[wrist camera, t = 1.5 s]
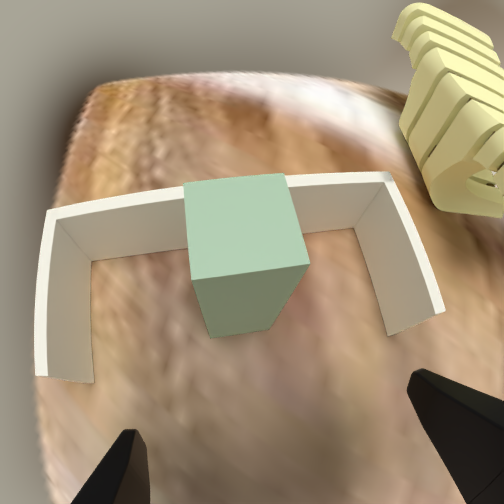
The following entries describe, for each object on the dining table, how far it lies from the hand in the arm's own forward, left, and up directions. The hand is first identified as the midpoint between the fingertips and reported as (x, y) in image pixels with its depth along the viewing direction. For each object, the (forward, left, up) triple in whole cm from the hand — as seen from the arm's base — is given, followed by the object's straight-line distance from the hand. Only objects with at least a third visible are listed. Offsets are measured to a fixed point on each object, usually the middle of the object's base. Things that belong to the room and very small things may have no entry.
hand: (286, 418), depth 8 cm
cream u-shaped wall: (+7, +4, -14) cm, 16 cm away
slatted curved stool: (+32, -17, -14) cm, 39 cm away
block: (+7, +4, -14) cm, 16 cm away
